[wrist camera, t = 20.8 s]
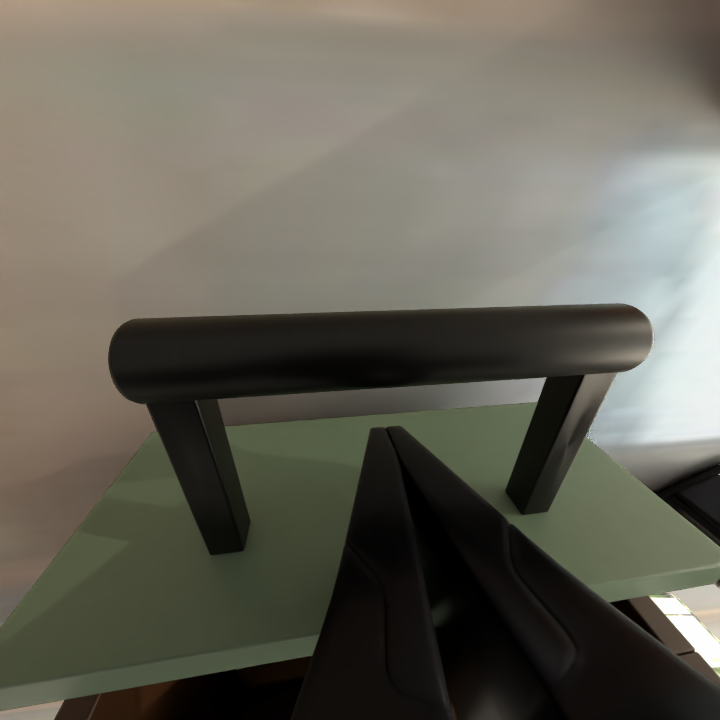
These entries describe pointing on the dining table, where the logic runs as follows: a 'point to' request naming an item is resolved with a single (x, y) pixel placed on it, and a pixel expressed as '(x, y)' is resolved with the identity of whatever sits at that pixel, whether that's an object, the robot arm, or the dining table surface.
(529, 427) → the drawer
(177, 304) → the dining table surface
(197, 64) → the dining table surface
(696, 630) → the syrup box
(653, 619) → the organizer
